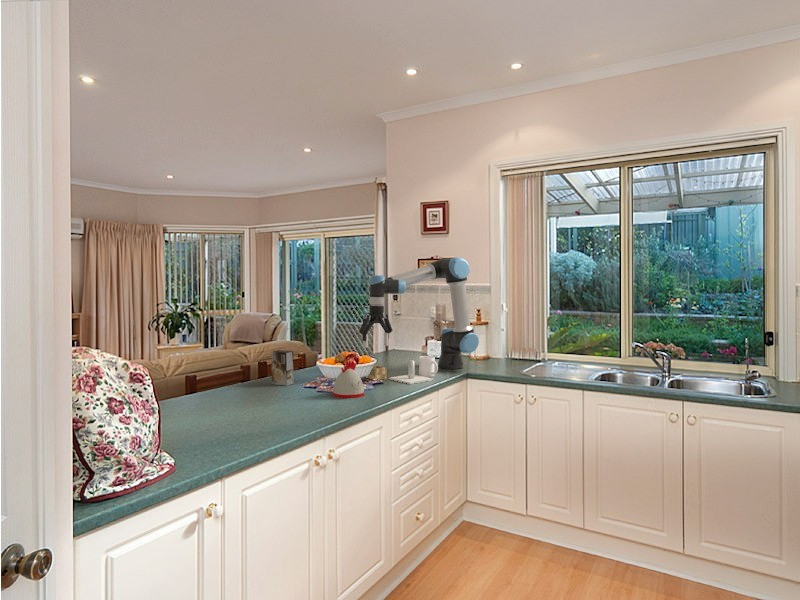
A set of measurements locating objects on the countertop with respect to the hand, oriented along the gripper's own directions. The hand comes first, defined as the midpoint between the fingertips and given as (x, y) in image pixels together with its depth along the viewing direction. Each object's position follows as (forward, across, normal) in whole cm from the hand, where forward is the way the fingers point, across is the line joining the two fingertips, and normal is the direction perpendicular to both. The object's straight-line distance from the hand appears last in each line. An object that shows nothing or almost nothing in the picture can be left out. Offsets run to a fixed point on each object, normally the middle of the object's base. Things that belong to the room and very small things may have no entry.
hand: (375, 346), depth 269 cm
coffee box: (+18, +44, -18) cm, 50 cm away
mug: (+17, -26, +13) cm, 34 cm away
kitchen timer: (+17, +33, +21) cm, 43 cm away
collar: (+17, 0, 0) cm, 17 cm away
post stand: (+17, -12, +14) cm, 25 cm away
